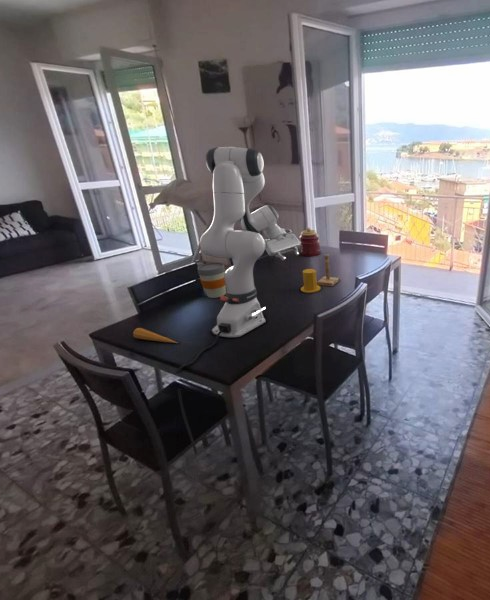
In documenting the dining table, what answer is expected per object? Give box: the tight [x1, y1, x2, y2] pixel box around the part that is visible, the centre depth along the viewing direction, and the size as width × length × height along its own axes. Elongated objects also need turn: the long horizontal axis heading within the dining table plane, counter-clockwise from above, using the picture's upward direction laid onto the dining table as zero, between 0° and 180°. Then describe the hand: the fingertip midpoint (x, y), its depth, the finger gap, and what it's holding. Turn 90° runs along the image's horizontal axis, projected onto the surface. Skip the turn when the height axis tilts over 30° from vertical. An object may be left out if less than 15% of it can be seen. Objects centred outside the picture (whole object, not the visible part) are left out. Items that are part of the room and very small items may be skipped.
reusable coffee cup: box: [197, 261, 227, 299], centre depth 177 cm, size 12×13×15 cm
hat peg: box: [317, 253, 340, 287], centre depth 189 cm, size 9×9×16 cm
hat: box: [299, 268, 322, 294], centre depth 182 cm, size 10×10×10 cm
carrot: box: [132, 327, 178, 344], centre depth 139 cm, size 20×4×4 cm, turn 74°
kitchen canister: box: [299, 227, 321, 257], centre depth 237 cm, size 13×13×18 cm
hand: (291, 257), depth 184 cm, fingers open, 8 cm apart
